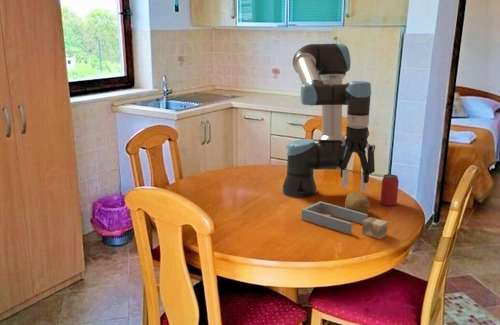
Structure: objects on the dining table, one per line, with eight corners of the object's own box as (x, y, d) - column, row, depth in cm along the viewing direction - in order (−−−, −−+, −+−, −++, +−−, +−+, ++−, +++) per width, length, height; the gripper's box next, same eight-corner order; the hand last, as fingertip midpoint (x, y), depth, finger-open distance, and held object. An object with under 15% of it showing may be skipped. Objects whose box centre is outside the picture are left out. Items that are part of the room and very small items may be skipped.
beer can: (397, 206, 203) (399, 179, 200) (380, 205, 204) (382, 178, 201) (396, 201, 209) (398, 174, 206) (379, 200, 211) (382, 173, 207)
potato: (363, 206, 203) (364, 188, 201) (374, 219, 190) (375, 200, 188) (339, 207, 203) (340, 188, 200) (349, 220, 189) (350, 200, 187)
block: (362, 220, 176) (380, 226, 172) (369, 216, 180) (387, 221, 175) (362, 233, 177) (379, 239, 173) (369, 229, 181) (386, 234, 176)
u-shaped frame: (301, 219, 190) (301, 209, 189) (320, 210, 199) (320, 201, 198) (349, 234, 176) (350, 224, 175) (367, 224, 185) (367, 214, 184)
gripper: (327, 124, 176) (324, 185, 183) (378, 131, 163) (373, 197, 170) (338, 121, 182) (335, 180, 188) (388, 128, 169) (383, 192, 175)
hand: (353, 188), depth 179 cm, fingers open, 7 cm apart
